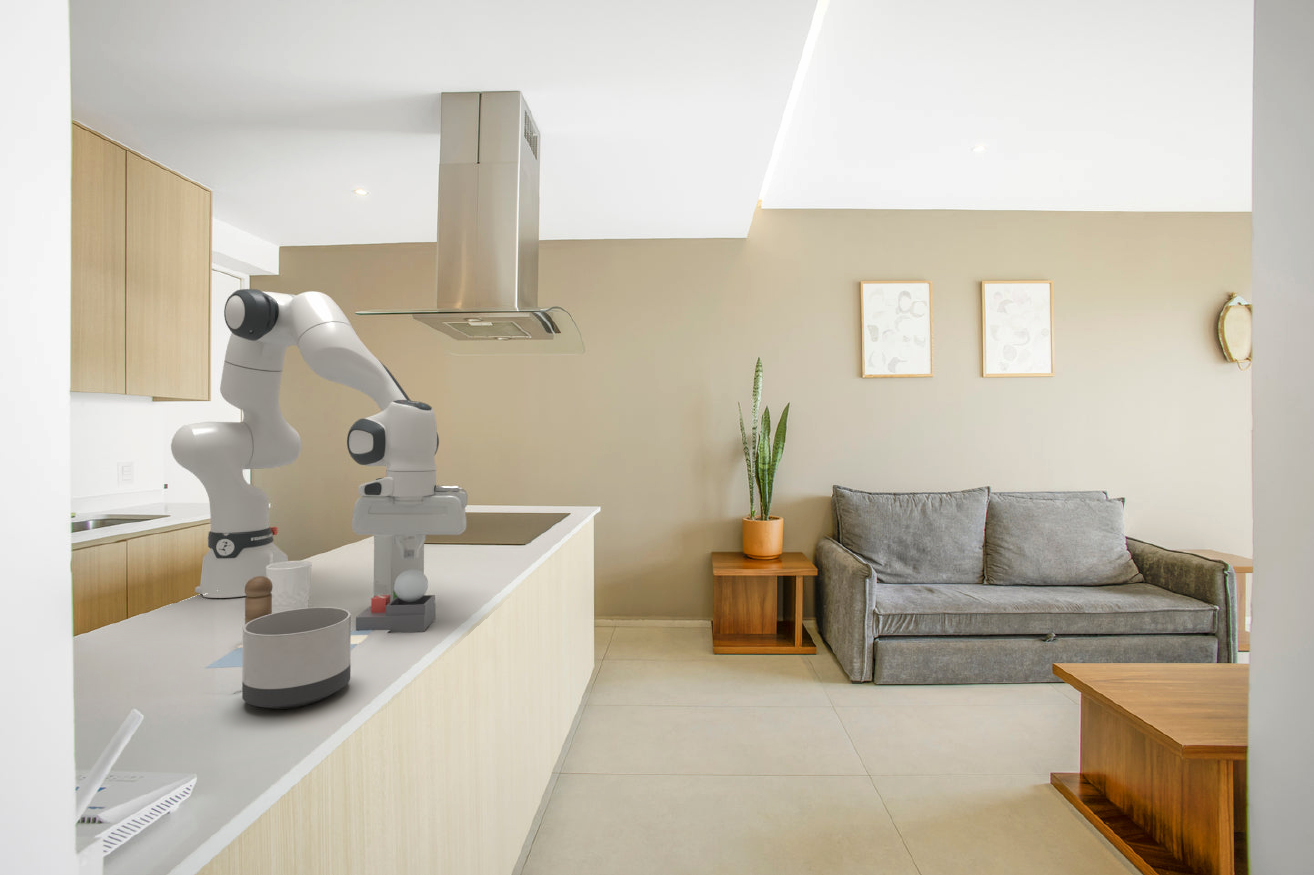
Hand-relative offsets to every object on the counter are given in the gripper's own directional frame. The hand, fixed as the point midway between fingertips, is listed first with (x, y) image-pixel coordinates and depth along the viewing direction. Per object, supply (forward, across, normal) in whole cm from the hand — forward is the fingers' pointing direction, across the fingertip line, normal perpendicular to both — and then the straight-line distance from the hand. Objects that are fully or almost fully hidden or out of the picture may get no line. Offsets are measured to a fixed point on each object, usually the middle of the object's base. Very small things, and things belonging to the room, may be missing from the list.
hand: (410, 557), depth 113 cm
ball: (+8, 0, 0) cm, 8 cm away
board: (+13, +14, +12) cm, 23 cm away
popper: (+13, +2, 0) cm, 13 cm away
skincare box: (+13, +6, -14) cm, 20 cm away
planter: (+13, +6, +30) cm, 34 cm away
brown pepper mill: (+12, +22, +9) cm, 27 cm away
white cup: (+14, +26, -10) cm, 31 cm away
